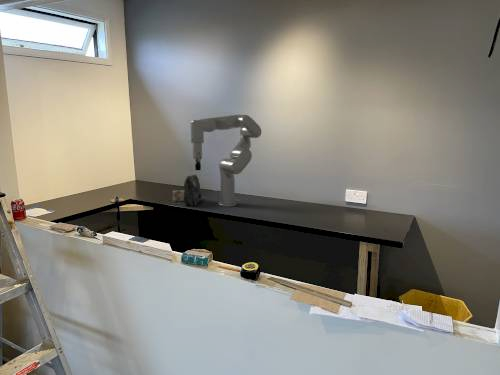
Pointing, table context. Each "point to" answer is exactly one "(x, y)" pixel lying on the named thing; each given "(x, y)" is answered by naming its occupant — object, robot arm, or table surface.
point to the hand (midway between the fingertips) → (198, 170)
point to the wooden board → (179, 196)
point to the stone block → (192, 191)
